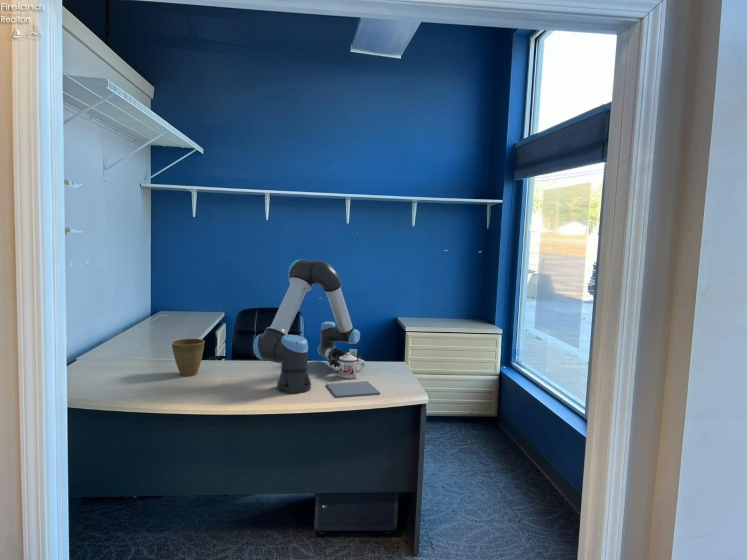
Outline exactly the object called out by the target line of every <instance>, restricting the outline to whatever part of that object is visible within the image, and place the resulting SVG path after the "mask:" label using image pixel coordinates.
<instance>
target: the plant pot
mask: <svg viewBox="0 0 747 560" xmlns="http://www.w3.org/2000/svg"><path fill="white" fill-rule="evenodd" d="M171 346H172V347H171V349H172V352H173V356H174V360H175V363H176V366H177V369H178V372H179V373H180V376H182V375H183V377H192V375H193V376H195V375H197V374H198V371H199V369H200V366H201V362H202V360H203V353H204V349H205V340H204V339H200V338H182V339H176V340H173V341H172V342H171Z"/></svg>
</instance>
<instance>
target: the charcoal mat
mask: <svg viewBox="0 0 747 560" xmlns="http://www.w3.org/2000/svg"><path fill="white" fill-rule="evenodd" d="M325 386H326V387H327V389H328V390H329V391H330V392H331V393H332V394H333V396H334V397H335V398H338V399H339V398H349V397H364V396H365V397H366V396H376V395H381V392H380V391H379V390H378V389H377V388H376V387H375V386H374V385H372V384H371V383H370V382H369V381H367V380H365V381H364V380H363V381H348V382H335V383H333V382H332V383H326V384H325Z"/></svg>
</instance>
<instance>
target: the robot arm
mask: <svg viewBox="0 0 747 560" xmlns="http://www.w3.org/2000/svg"><path fill="white" fill-rule="evenodd" d="M287 272H288V273H287V275H288V276H287V277H288V282H289V286H288V288H287V291H286V293H285V294H284V297H283V298H282V301H281V304H280V305H279V308H278V309H277V312H276V314H275V317H274V318H273V321H272V323H271V325H270V326H269V327H268V326H267V327H266V328H265V330H264V332H263V333H260V334H258V335H257V336H255V339H254V340H253V347H252V348H253V353H254V355H255V357H256V358H258V359H259V360H262V361H264V362H271V363H276V364H277V363H278V364H280V374H279V377H278V380H277V382H276V390H277V389H278V390H279V391H278V390H277V391H278V392H281V391H282V392H281V393H284V392H287V393H286V394H301V393H305V392H308V391H310V390H311V389H312V383H311V379H310V376H309V372H308V364H309V363H308V361H309V359H308V358H309V357H308V356H309V355H308V354H309V342H308V340H307V339H306V338H305V337H304V336H301V335H297V334H288V333H289V331H290V329H291V326H292V325H293V323H294V320H295V319H296V315H297V313H298V312H299V310H300V307H301V305H302V302H303V300H304V298H305V295H306V294H307V292H309V291H311V290H312V288H313V286H314V285H318V286H321V288H322V291H323V292H325V293H326V297H327V300H328V302H329V305H330V308H331V311H332V314H333V317H334V320H335V322H334V321H324V322H322V323H321V328H320V344H319V345H318V346H317V352H318V354H319V355H320V357H322V358H324V359H326V361H327V362H328V364H329V366H330V367H334V368H338V369H339V368H341V369H344V363H342V362H340V361H339V358H340V357H341V356H344V355H346V353H345V352H344V351H343V350H342V349H340V348H338V347H336V346H335V345H336V342H338V343H345V344H350V345H353V344H354V345H356V344H357V343H359V341H360V338H361V333H360V331H359V330H358V329H355V328H354V326H353V324H352V321H351V317H350V313H349V311H348V310H349V309H348V307H347V304H346V301H345V297H344V295H343V292H342V291H343V290H342V289H341V288H342V286H343V285H342V284H343V283H342V281H341V278H340V276H339V274H338V273H337V271H336V270H335V269H334V267H333V266H332V265H331V264H329V262H326V261H324V260H311V259H304V258H301V259H297V260H294V261H293V262H292V263H291V264H290V265H289V267H288V271H287ZM350 355H352V356H354V357H356V358H357V362H360V363H362V364H363V368H365V367H366V361H365V360H364V357H362V356H357V355H355V354H351V353H350ZM358 365H359V366H361V365H360V364H358Z"/></svg>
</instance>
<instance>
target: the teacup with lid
mask: <svg viewBox="0 0 747 560" xmlns="http://www.w3.org/2000/svg"><path fill="white" fill-rule="evenodd" d="M350 354H351V353H350V352H346V353H345V355H344V356H341V357H340V358H339V361H340V362H342V363H344V369H341V368H339V367H338V377H340V378H341V379H347V378H349V379H355V378H356V377H357V373H360V372H361V371H362V370H363V369H364V367H363V364H362V363H360V362H357V358H356V357H354V356H352V355H353V354H352V355H350ZM359 364H360V365H359ZM358 365H359V366H361V367H360V369H359V370H357V366H358Z"/></svg>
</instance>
